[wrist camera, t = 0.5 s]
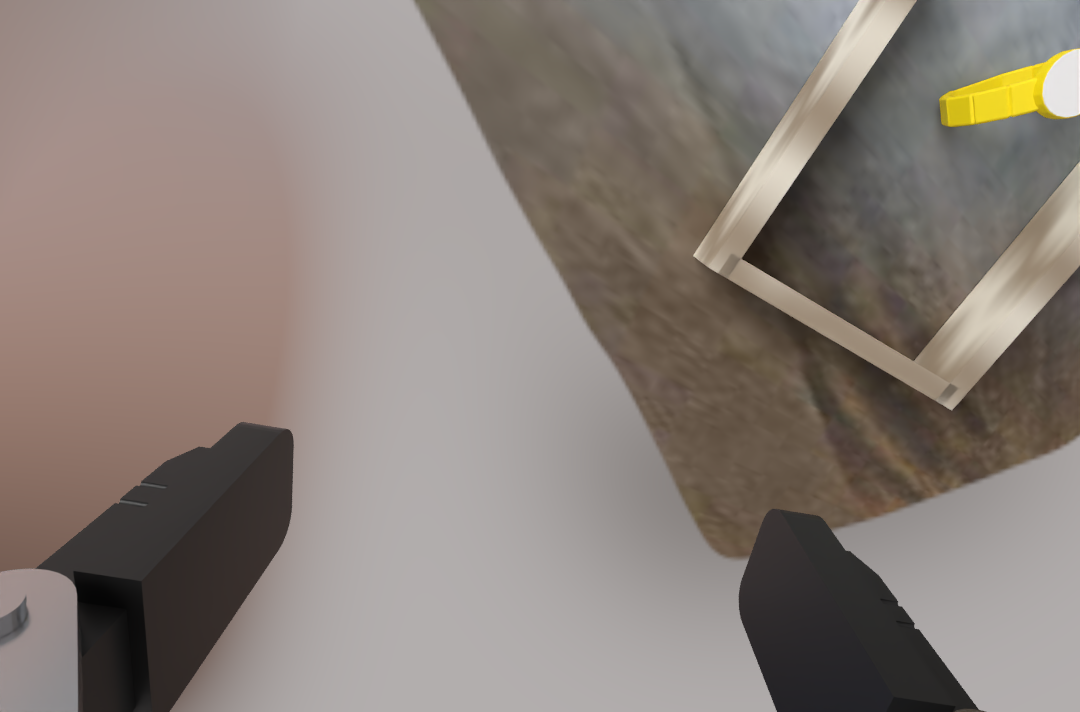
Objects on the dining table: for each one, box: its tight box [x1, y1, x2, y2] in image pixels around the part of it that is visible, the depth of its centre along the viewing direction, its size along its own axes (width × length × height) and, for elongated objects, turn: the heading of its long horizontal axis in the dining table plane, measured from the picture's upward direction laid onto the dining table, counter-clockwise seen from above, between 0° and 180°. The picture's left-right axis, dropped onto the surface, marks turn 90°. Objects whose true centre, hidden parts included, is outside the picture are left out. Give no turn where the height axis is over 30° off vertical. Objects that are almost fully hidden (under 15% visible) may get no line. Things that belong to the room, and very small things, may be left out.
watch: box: [939, 48, 1080, 127], centre depth 28 cm, size 6×3×6 cm, turn 108°
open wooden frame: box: [693, 0, 1080, 410], centre depth 31 cm, size 17×16×4 cm
